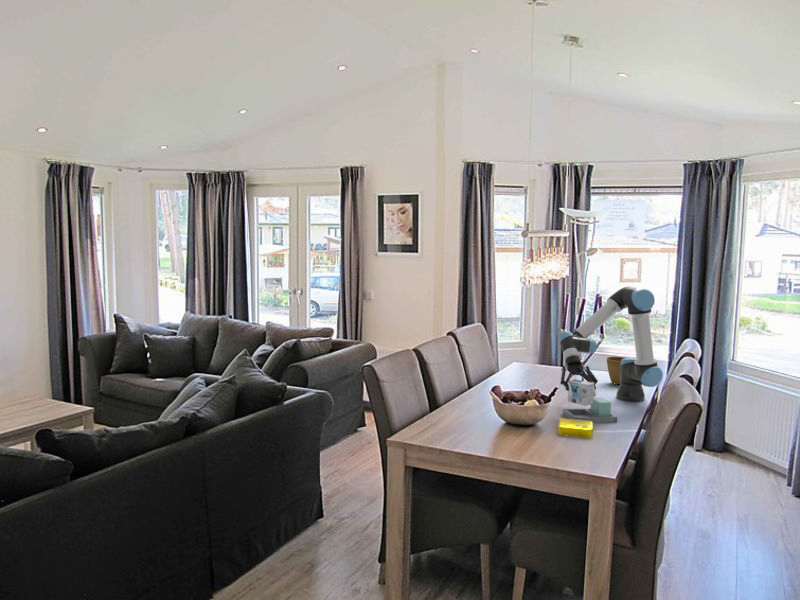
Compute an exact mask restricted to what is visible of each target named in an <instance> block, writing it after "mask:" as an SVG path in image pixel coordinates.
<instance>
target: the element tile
mask: <svg viewBox="0 0 800 600" xmlns="http://www.w3.org/2000/svg"><path fill="white" fill-rule="evenodd" d="M558 421H559V422H558V425H557V426H558V427H557V428H558V430H557V434H558V433H559V434H561V435H560V436H564V435H568V436H567V437H573V436H578V437H577V438H583V437H592V438H593V434H594V433H593V428H594V425H593V424H594V423H593V422H592V421H586V420H575V419H569V418H564V417H563V418H559V420H558ZM559 434H558V435H559Z"/></svg>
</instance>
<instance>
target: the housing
mask: <svg viewBox="0 0 800 600" xmlns="http://www.w3.org/2000/svg"><path fill="white" fill-rule="evenodd" d="M562 414H563V415H564V416H565V417H566V418H567V419H575V420H586V421H592V422H593V424H595V423H596V424H597V423H618V416H616V415H615V414H613V413H611V416H610V417H598V416H597V415H595V414H594V413H592V412H590V408H563V410H562Z"/></svg>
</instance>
